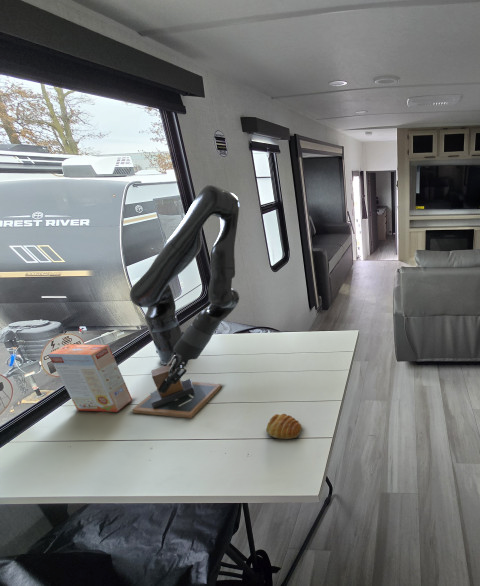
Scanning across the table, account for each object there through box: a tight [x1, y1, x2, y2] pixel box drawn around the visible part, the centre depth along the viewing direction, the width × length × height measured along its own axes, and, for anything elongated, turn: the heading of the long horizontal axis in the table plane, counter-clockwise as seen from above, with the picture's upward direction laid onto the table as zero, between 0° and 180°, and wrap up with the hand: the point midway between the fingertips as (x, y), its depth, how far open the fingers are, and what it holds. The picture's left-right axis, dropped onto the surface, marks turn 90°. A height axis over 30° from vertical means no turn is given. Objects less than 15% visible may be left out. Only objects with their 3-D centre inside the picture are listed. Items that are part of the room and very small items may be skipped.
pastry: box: [265, 413, 303, 440], centre depth 85 cm, size 9×7×4 cm
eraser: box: [150, 365, 194, 408], centre depth 97 cm, size 6×11×10 cm, turn 127°
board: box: [131, 380, 222, 419], centre depth 99 cm, size 14×20×1 cm
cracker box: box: [47, 343, 133, 413], centre depth 94 cm, size 14×6×21 cm, turn 84°
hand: (160, 387), depth 96 cm, fingers closed on eraser, 4 cm apart
